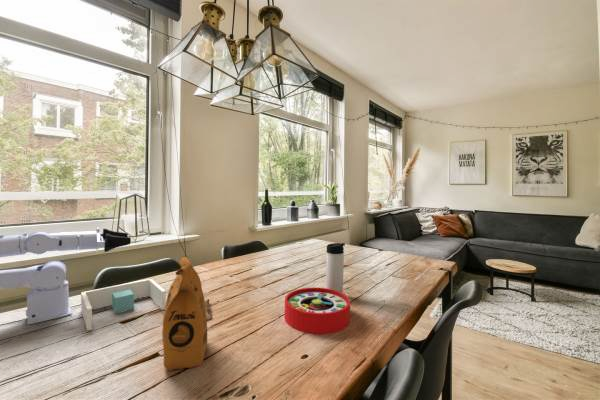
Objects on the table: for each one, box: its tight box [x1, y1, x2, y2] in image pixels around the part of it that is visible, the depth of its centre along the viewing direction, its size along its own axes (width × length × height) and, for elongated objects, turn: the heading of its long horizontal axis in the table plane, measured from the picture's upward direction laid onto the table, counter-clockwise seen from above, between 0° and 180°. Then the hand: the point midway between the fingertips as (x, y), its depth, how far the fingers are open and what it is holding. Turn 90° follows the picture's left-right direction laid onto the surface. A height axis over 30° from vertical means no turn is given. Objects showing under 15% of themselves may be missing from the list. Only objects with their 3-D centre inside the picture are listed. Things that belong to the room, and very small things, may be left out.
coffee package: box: [161, 256, 208, 371], centre depth 63 cm, size 10×12×22 cm
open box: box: [80, 278, 167, 332], centre depth 86 cm, size 20×16×6 cm
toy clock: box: [284, 287, 351, 335], centre depth 84 cm, size 20×6×20 cm
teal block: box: [111, 290, 135, 314], centre depth 88 cm, size 5×5×5 cm
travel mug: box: [325, 242, 346, 294], centre depth 99 cm, size 6×7×20 cm
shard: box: [204, 298, 212, 320], centre depth 85 cm, size 13×9×2 cm
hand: (129, 238), depth 94 cm, fingers open, 7 cm apart
